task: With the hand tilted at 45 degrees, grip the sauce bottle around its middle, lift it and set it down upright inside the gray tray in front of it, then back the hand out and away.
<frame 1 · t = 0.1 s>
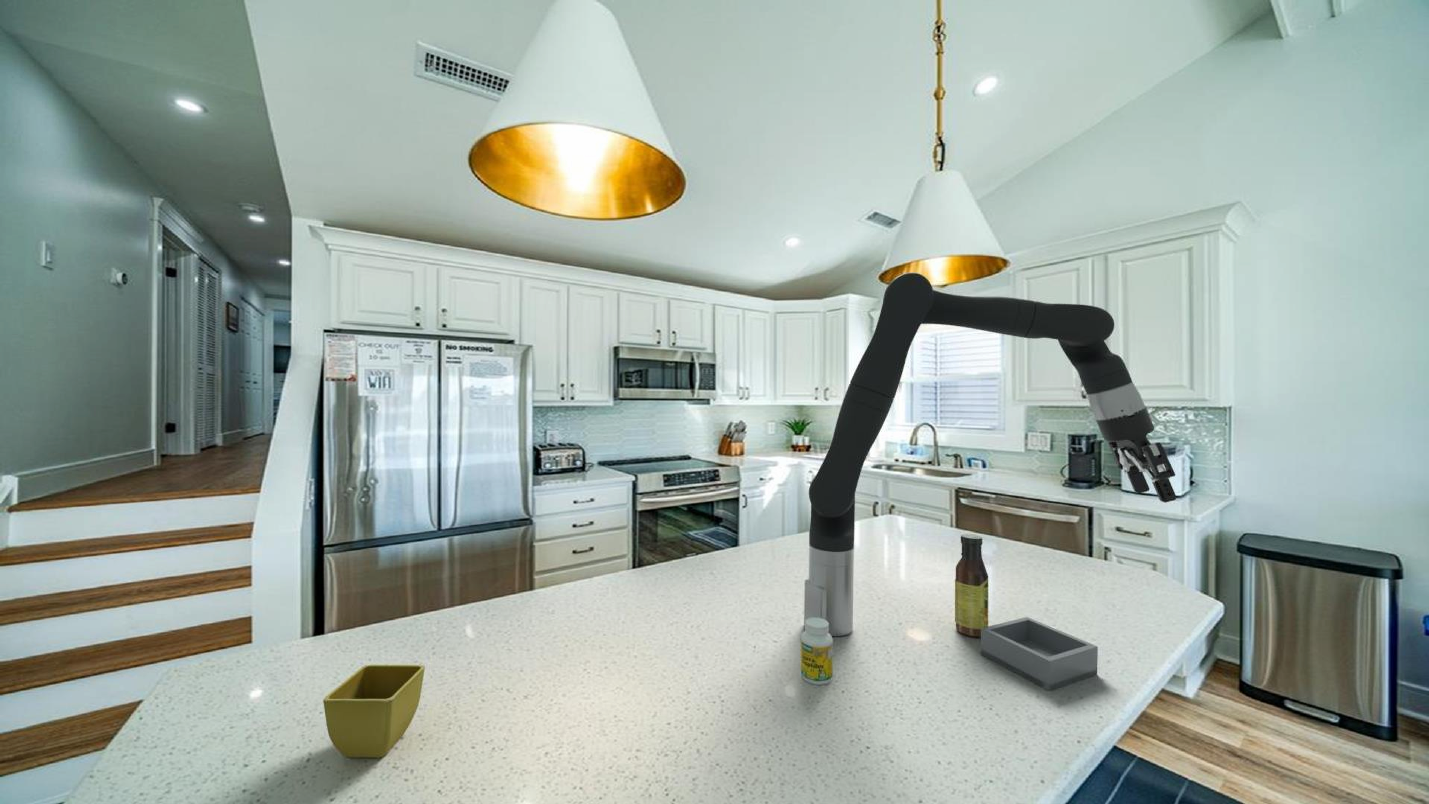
hand: (1155, 496, 92), 31 cm above the countertop, tool tilted 20°, fingers open, 8 cm apart
flower pot: (376, 747, 70), on the countertop
sauce bottle: (970, 632, 106), on the countertop
supplement bottle: (816, 678, 88), on the countertop
gray tray: (1036, 664, 93), on the countertop
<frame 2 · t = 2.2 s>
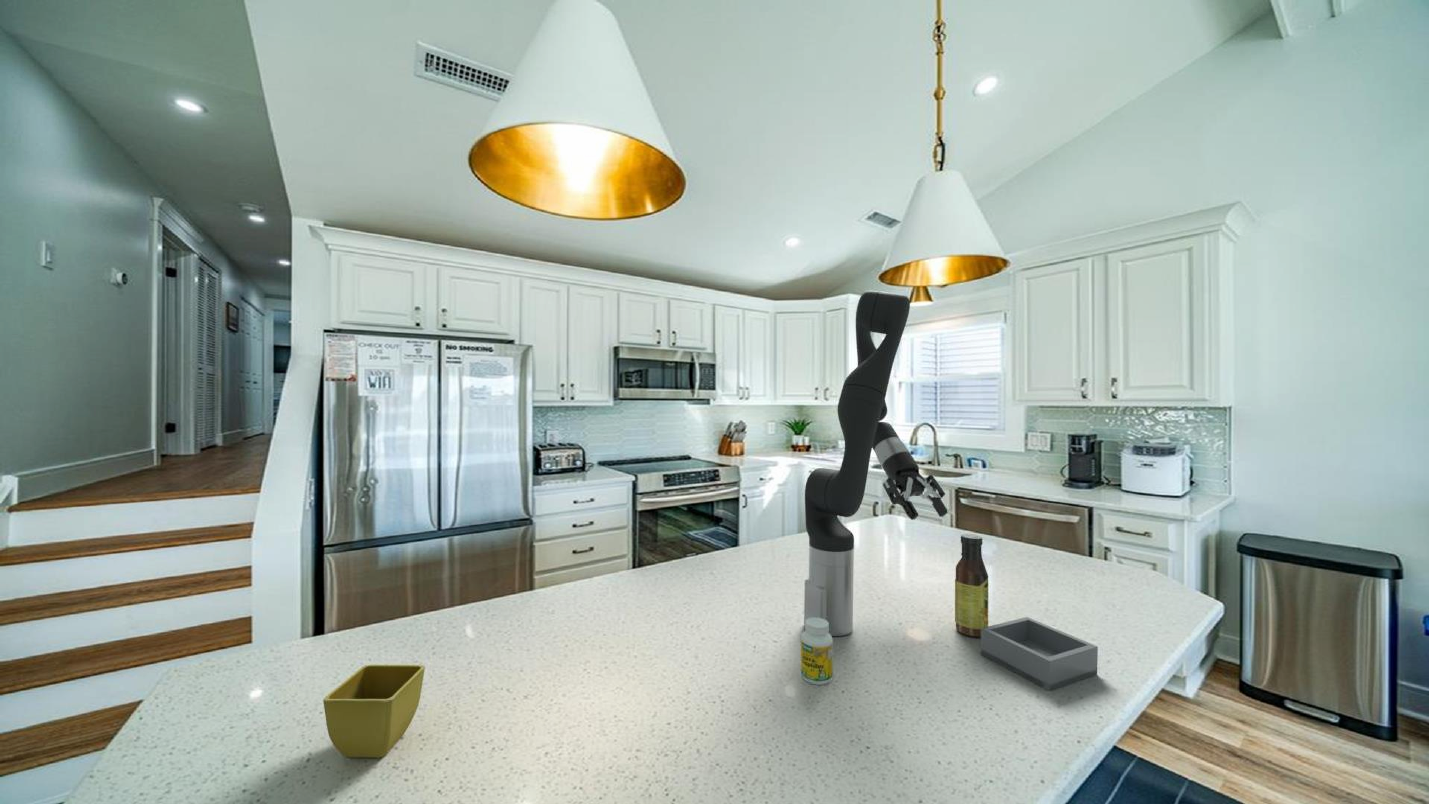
hand: (929, 516, 116), 22 cm above the countertop, tool tilted 45°, fingers open, 8 cm apart
nothing on the countertop moved.
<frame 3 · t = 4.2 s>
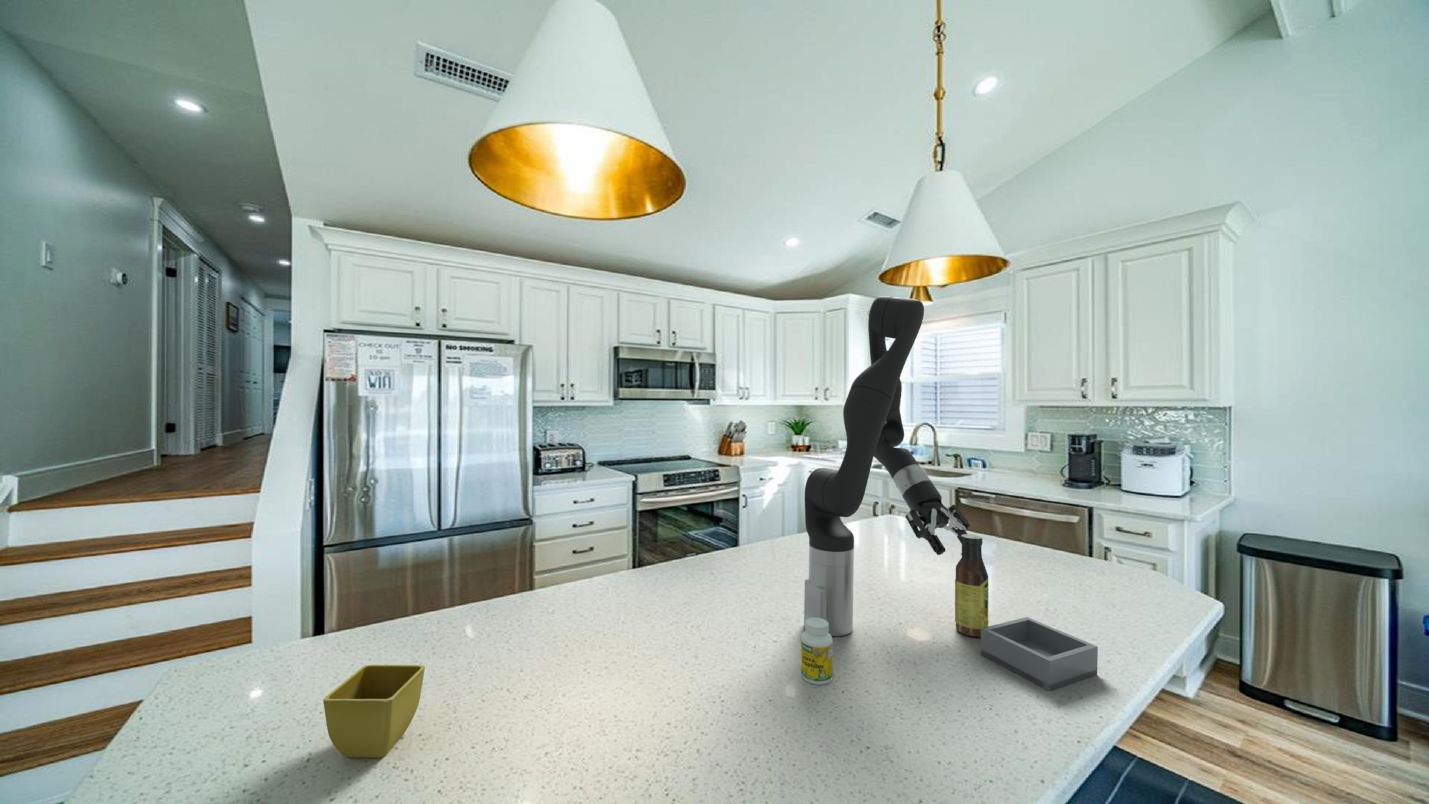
hand: (956, 550, 110), 16 cm above the countertop, tool tilted 45°, fingers open, 8 cm apart
nothing on the countertop moved.
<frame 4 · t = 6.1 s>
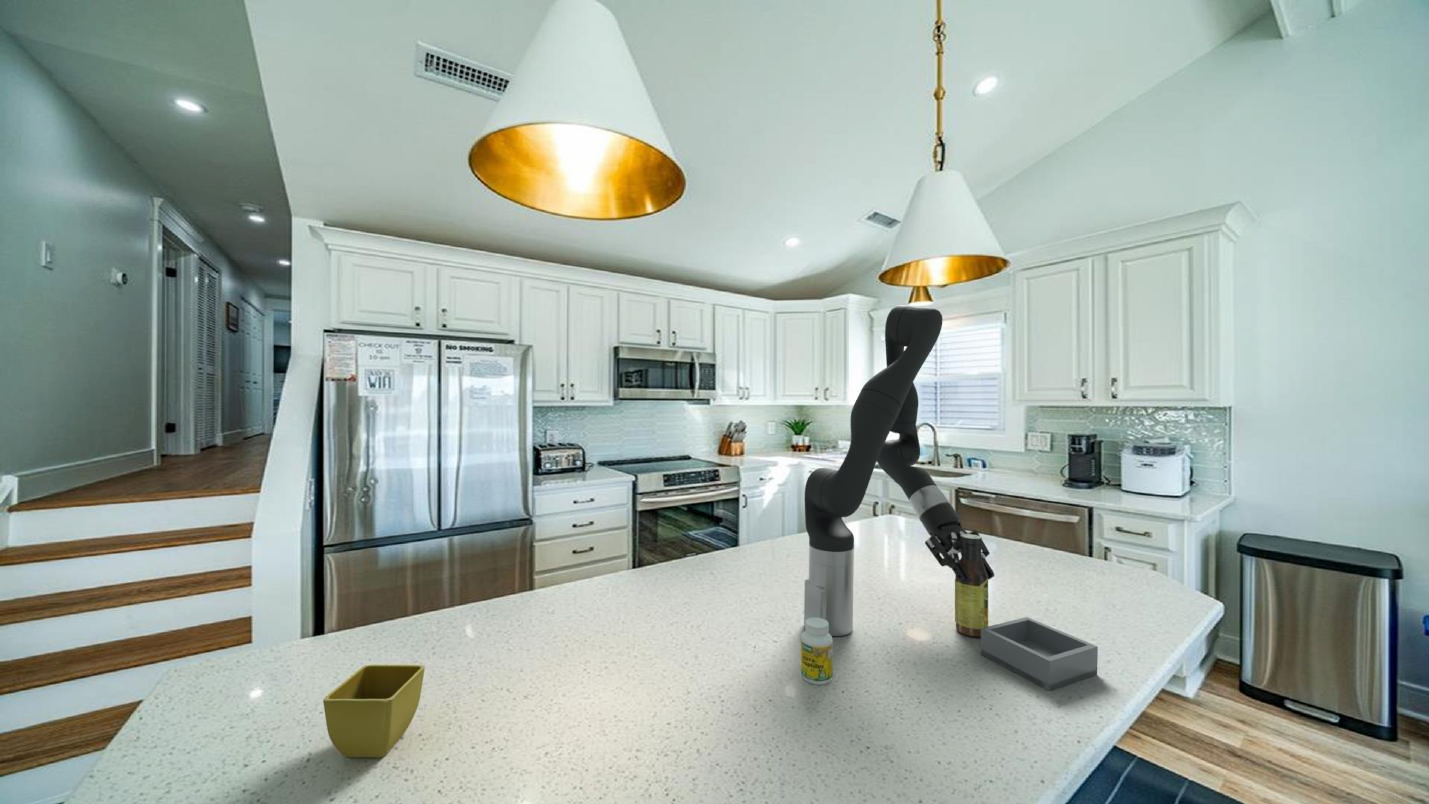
hand: (979, 580, 105), 11 cm above the countertop, tool tilted 45°, fingers closed on sauce bottle, 6 cm apart
sauce bottle: (970, 632, 106), on the countertop, touching gripper
everything else where it was.
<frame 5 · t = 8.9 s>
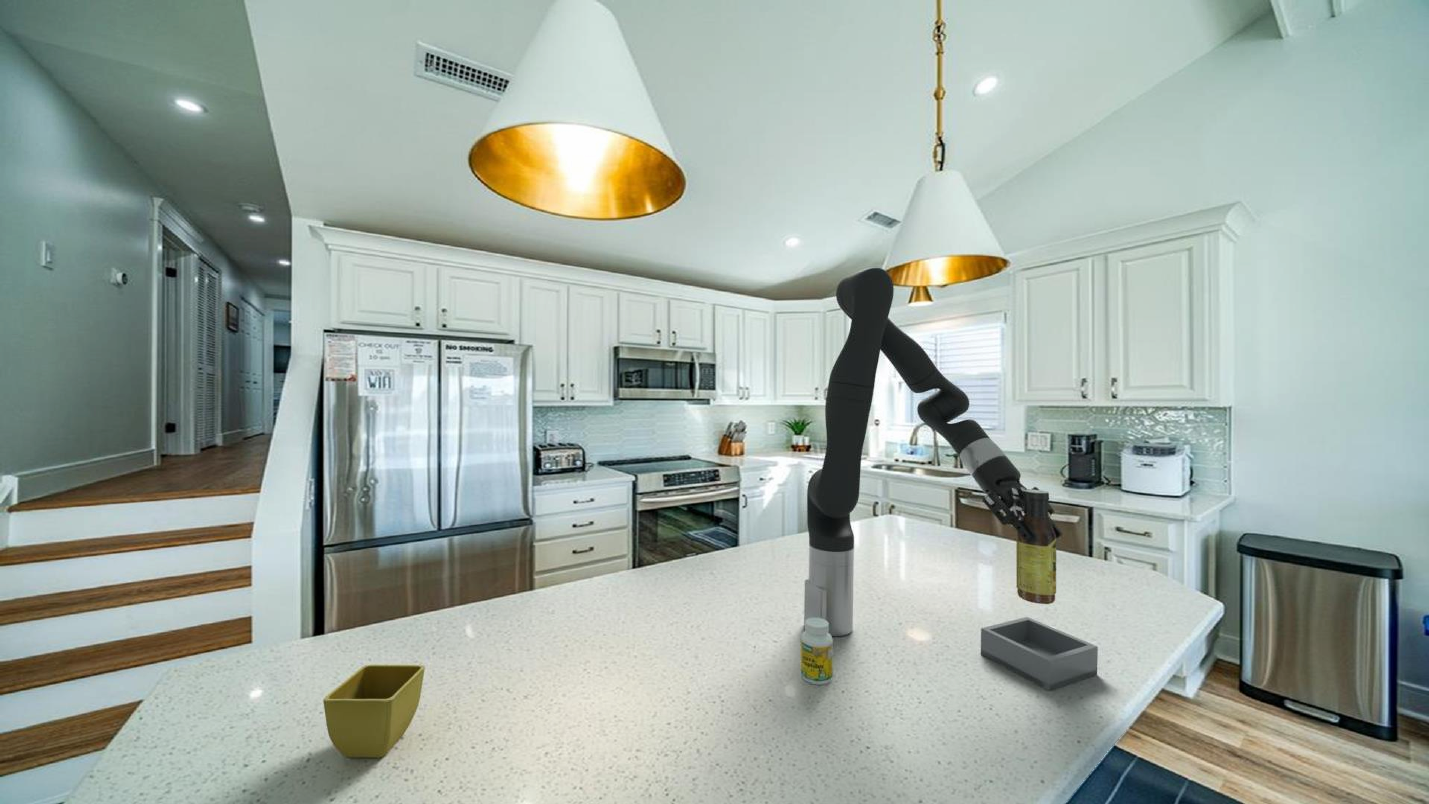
hand: (1046, 539, 92), 23 cm above the countertop, tool tilted 45°, fingers closed on sauce bottle, 6 cm apart
sauce bottle: (1035, 599, 94), point 12 cm above the countertop, touching gripper
everything else where it was.
when the fingers open (14 cm above the countertop, at t = 11.8 s): sauce bottle drops 1 cm, resting on gray tray.
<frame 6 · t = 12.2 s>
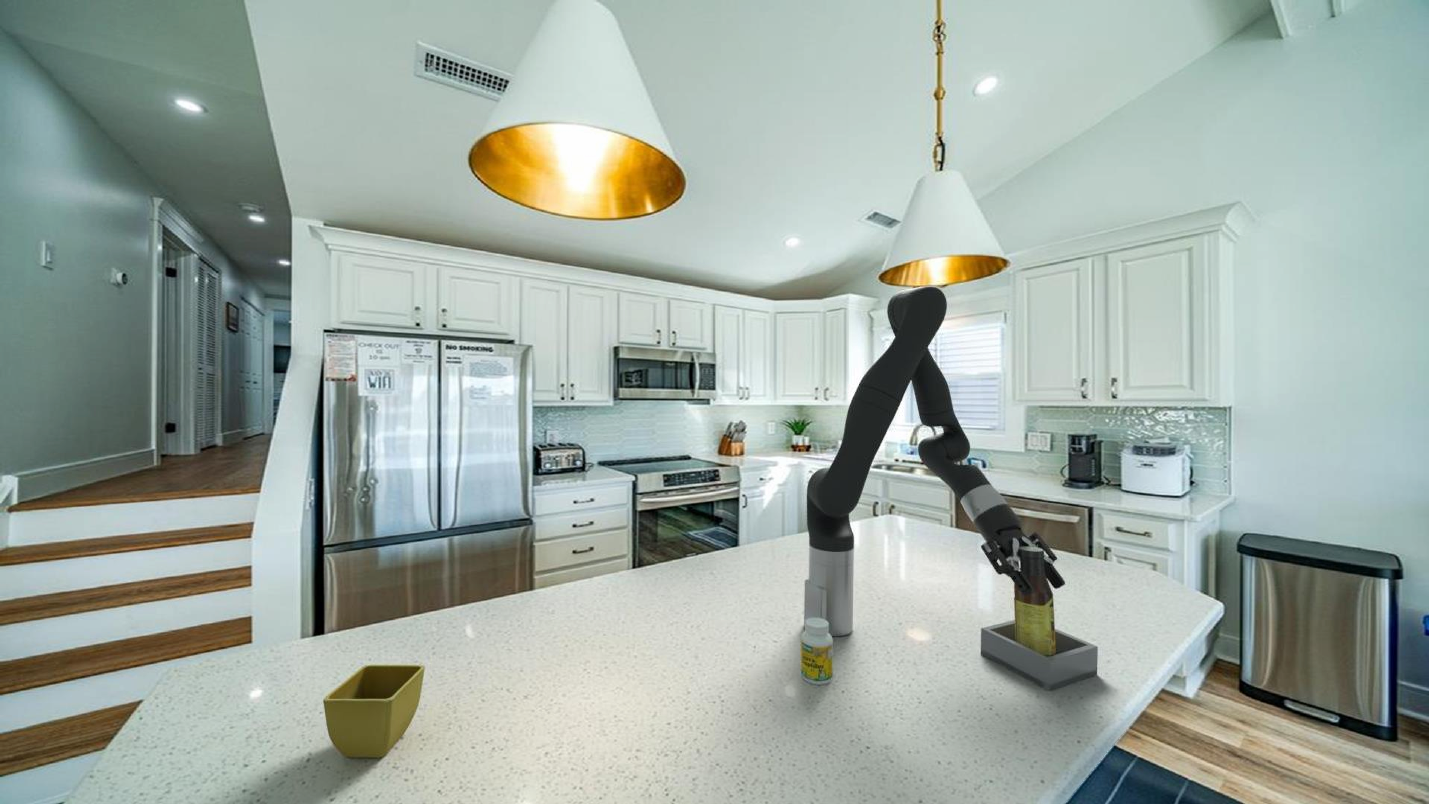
hand: (1045, 589, 92), 14 cm above the countertop, tool tilted 45°, fingers open, 8 cm apart
sauce bottle: (1035, 658, 94), point 1 cm above the countertop, touching gray tray
everything else where it was.
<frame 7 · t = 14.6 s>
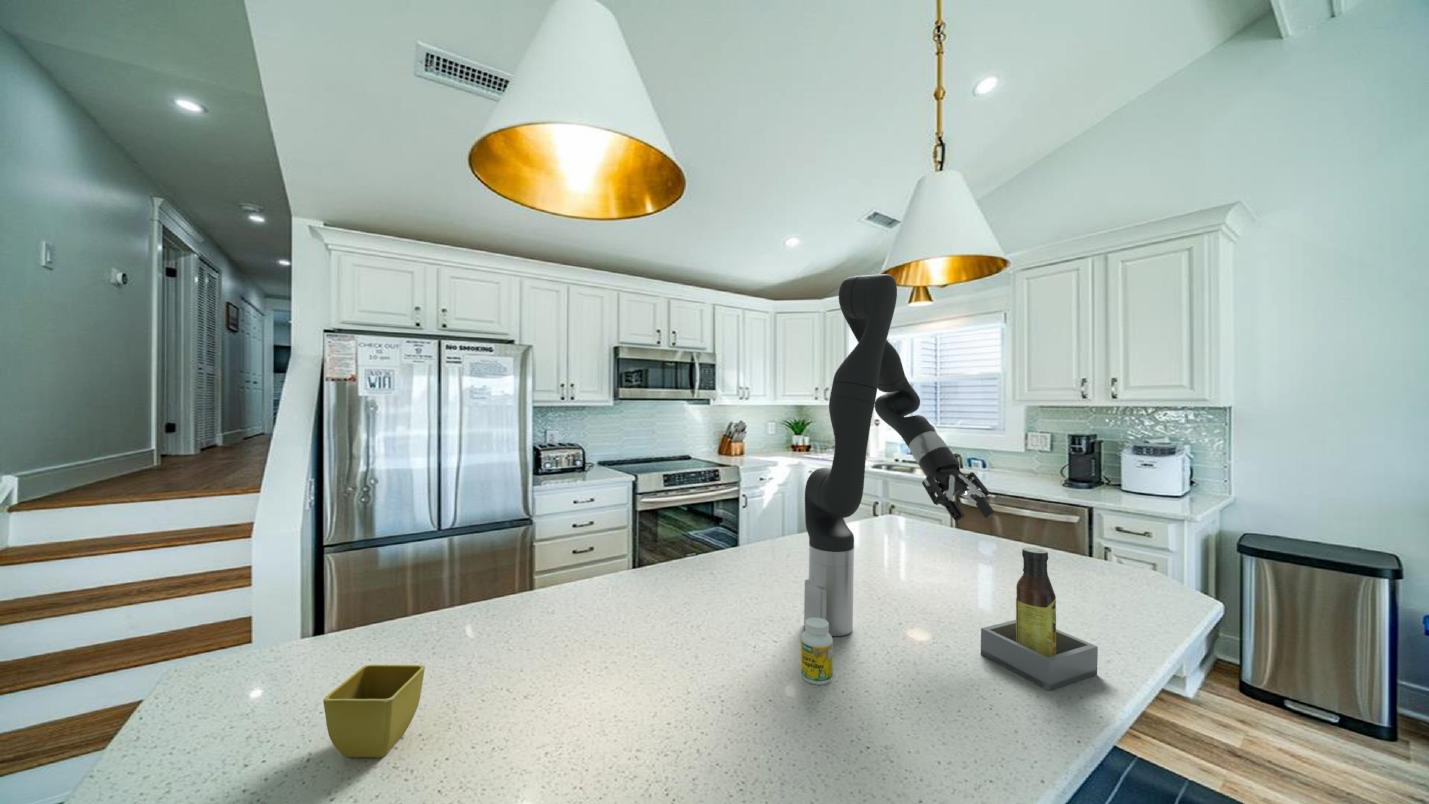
hand: (975, 517, 106), 24 cm above the countertop, tool tilted 45°, fingers open, 8 cm apart
nothing on the countertop moved.
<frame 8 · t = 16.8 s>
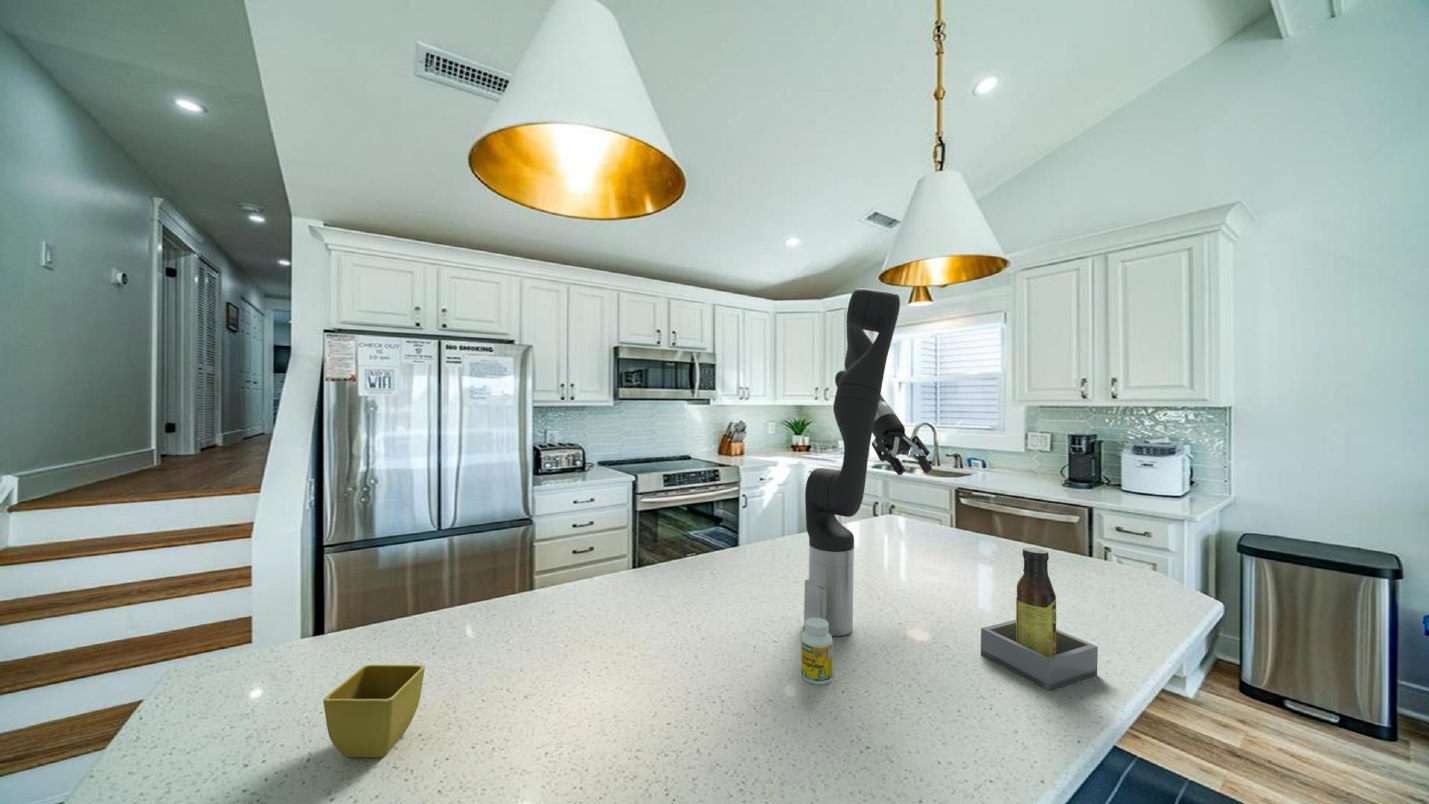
hand: (915, 472, 123), 31 cm above the countertop, tool tilted 45°, fingers open, 8 cm apart
nothing on the countertop moved.
at the end: sauce bottle inside the target area on the gray tray (0.3 cm from its centre), point 0.8 cm above the gray tray's base; sauce bottle tilted 0°; the gripper is holding nothing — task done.
